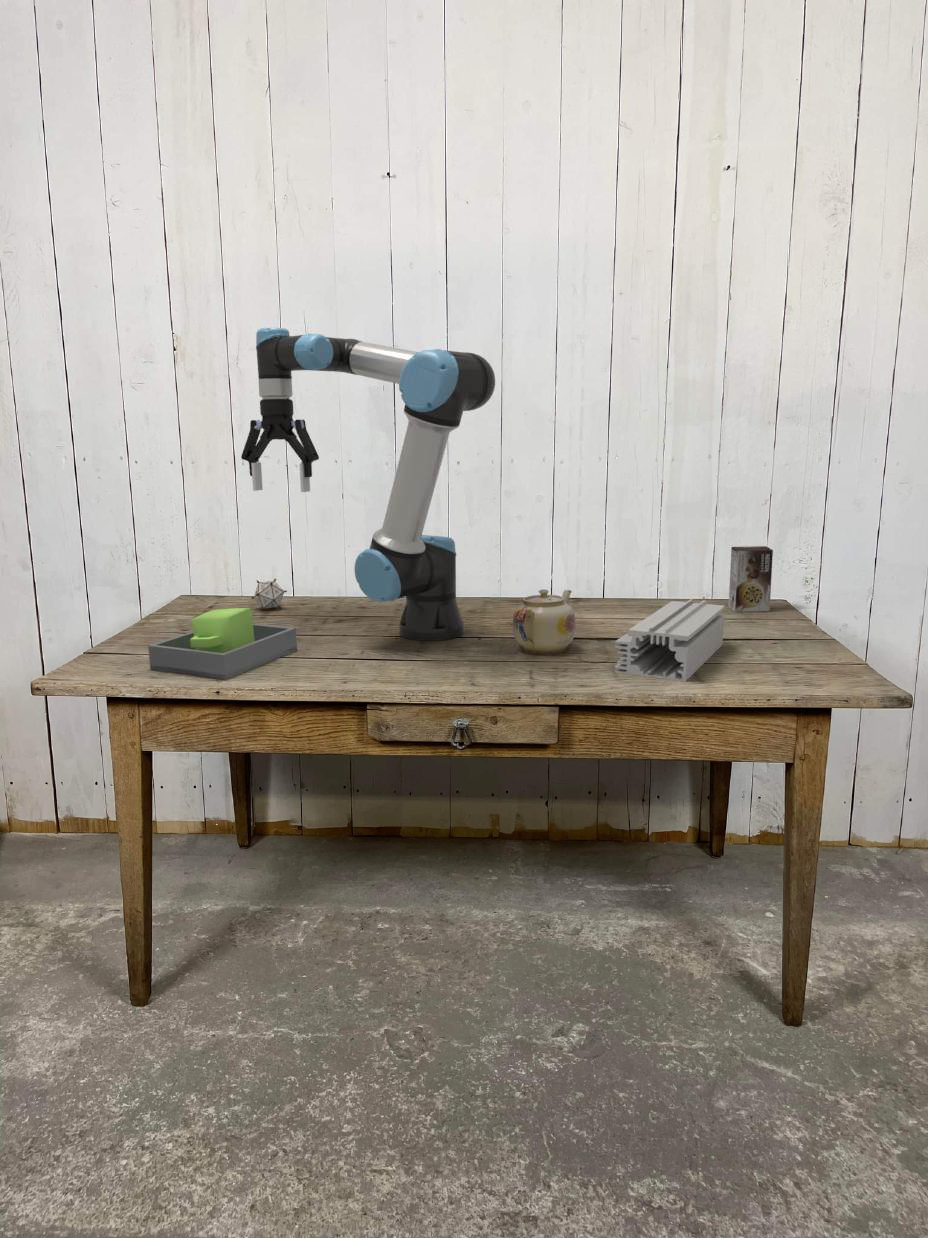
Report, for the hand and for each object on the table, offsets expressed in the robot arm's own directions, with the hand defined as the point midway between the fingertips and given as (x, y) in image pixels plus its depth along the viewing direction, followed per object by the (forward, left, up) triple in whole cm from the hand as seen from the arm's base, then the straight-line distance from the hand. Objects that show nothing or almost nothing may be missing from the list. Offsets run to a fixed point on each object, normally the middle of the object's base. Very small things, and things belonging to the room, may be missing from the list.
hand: (281, 491), depth 208 cm
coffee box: (-101, -60, -33) cm, 122 cm away
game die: (+16, -14, -33) cm, 39 cm away
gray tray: (-6, +31, -33) cm, 45 cm away
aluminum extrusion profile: (-92, -6, -33) cm, 98 cm away
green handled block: (-6, +31, -32) cm, 45 cm away
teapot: (-65, -3, -33) cm, 73 cm away
